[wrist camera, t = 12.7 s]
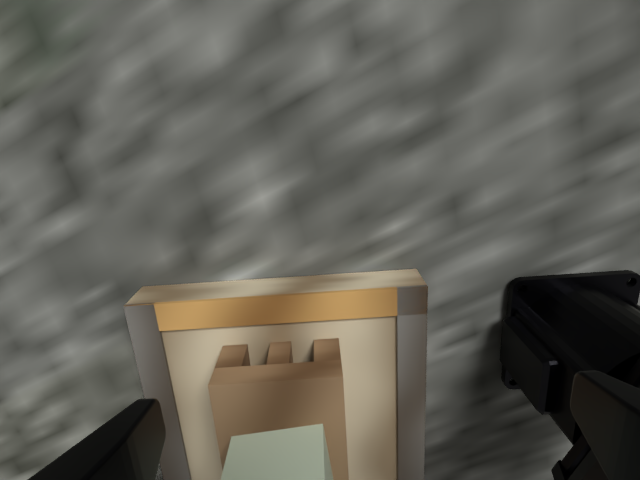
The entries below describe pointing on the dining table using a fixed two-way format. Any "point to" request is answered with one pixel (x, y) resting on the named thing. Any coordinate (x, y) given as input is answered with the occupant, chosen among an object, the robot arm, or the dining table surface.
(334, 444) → the walnut pallet
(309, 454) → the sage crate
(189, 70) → the dining table surface
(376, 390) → the birch dock
